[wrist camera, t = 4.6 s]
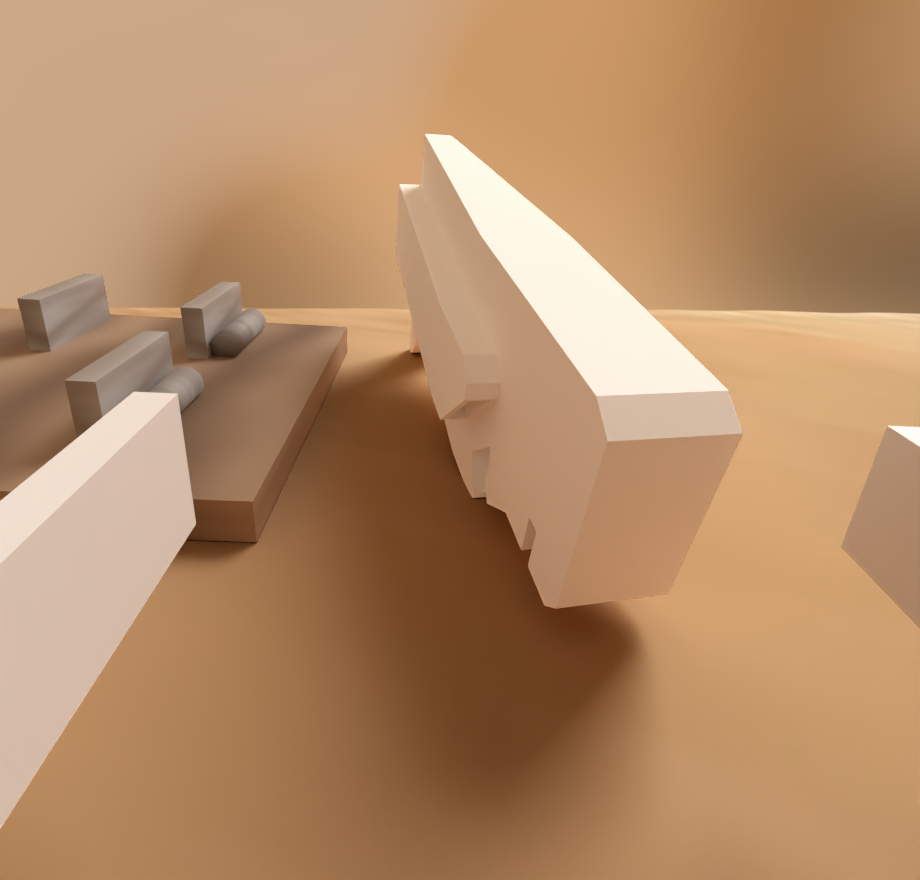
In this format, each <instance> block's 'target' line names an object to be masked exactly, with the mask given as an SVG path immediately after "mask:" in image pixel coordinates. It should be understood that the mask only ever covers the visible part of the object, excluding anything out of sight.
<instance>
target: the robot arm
mask: <svg viewBox="0 0 920 880" xmlns="http://www.w3.org/2000/svg"><path fill="white" fill-rule="evenodd" d="M195 525H196V519H195V512H194V505H193V498H192V491H191V484H190V477H189V470H188V463H187V456H186V449H185V442H184V435H183V428H182V421H181V414H180V407H179V400H178V394H176V393H153V392H133V393H132V394H130V395H129V396H128V397H127V398H125V399H124V400H123V401H122V402H121V403H119V404H118V405H117V406H116V407H114V408H113V409H112V410H111V411H110V412H108V413H107V414H106V415H105V416H103V417H102V418H101V419H100V420H99V421H97V422H96V423H95V424H94V425H92V426H91V427H90V428H89V429H88V430H86V431H85V432H84V433H83V434H81V435H80V436H79V437H78V438H77V439H75V440H74V441H73V442H72V443H70V444H69V445H68V446H67V447H65V448H64V449H63V450H62V451H61V452H59V453H58V454H57V455H56V456H54V457H53V458H52V459H51V460H50V461H48V462H47V463H46V464H45V465H43V466H42V467H41V468H40V469H39V470H37V471H36V472H35V473H34V474H32V475H31V476H30V477H29V478H28V479H26V480H25V481H24V482H23V483H21V484H20V485H19V486H18V487H17V488H15V489H14V490H13V491H12V492H10V493H9V494H8V495H7V496H6V497H4V498H3V499H2V500H1V501H0V829H1V827H2V826H3V824H4V822H5V821H6V819H7V818H8V816H9V815H10V813H11V812H12V810H13V808H14V807H15V805H16V804H17V802H18V801H19V799H20V798H21V796H22V794H23V793H24V791H25V790H26V788H27V787H28V785H29V784H30V782H31V780H32V779H33V777H34V776H35V774H36V773H37V771H38V770H39V768H40V766H41V765H42V763H43V762H44V760H45V759H46V757H47V755H48V754H49V752H50V751H51V749H52V748H53V746H54V745H55V743H56V741H57V740H58V738H59V737H60V735H61V734H62V732H63V731H64V729H65V727H66V726H67V724H68V723H69V721H70V720H71V718H72V717H73V715H74V713H75V712H76V710H77V709H78V707H79V706H80V704H81V703H82V701H83V699H84V698H85V696H86V695H87V693H88V692H89V690H90V689H91V687H92V685H93V684H94V682H95V681H96V679H97V678H98V676H99V674H100V673H101V671H102V670H103V668H104V667H105V665H106V664H107V662H108V660H109V659H110V657H111V656H112V654H113V653H114V651H115V650H116V648H117V646H118V645H119V643H120V642H121V640H122V639H123V637H124V636H125V634H126V632H127V631H128V629H129V628H130V626H131V625H132V623H133V622H134V620H135V618H136V617H137V615H138V614H139V612H140V611H141V609H142V608H143V606H144V604H145V603H146V601H147V600H148V598H149V597H150V595H151V593H152V592H153V590H154V589H155V587H156V586H157V584H158V583H159V581H160V579H161V578H162V576H163V575H164V573H165V572H166V570H167V569H168V567H169V565H170V564H171V562H172V561H173V559H174V558H175V556H176V555H177V553H178V551H179V550H180V548H181V547H182V545H183V544H184V542H185V541H186V539H187V537H188V536H189V534H190V533H191V531H192V530H193V528H194V527H195ZM841 548H842V549H843V550H844V551H845V552H846V553H847V554H848V555H849V556H850V557H851V558H852V559H853V560H854V561H855V562H856V563H857V564H858V565H859V566H860V567H861V568H862V569H863V570H864V571H865V572H866V573H867V574H868V575H869V576H870V577H871V578H872V579H873V581H874V582H875V583H876V584H877V585H878V586H879V587H880V588H881V589H882V590H883V591H884V592H885V593H886V594H887V595H888V596H889V597H890V598H891V599H892V600H893V601H894V602H895V603H896V604H897V605H898V606H899V607H900V608H901V609H902V610H903V611H904V612H905V613H906V614H907V615H908V616H909V618H910V619H911V620H912V621H913V622H914V623H915V624H916V625H917V626H918V627H919V628H920V427H904V426H887V428H886V430H885V433H884V436H883V438H882V441H881V444H880V446H879V449H878V451H877V454H876V457H875V459H874V462H873V465H872V467H871V470H870V472H869V475H868V478H867V480H866V483H865V485H864V488H863V491H862V493H861V496H860V499H859V501H858V504H857V506H856V509H855V512H854V514H853V517H852V520H851V522H850V525H849V527H848V530H847V533H846V535H845V538H844V540H843V543H842V546H841Z"/></svg>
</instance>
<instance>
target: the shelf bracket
mask: <svg viewBox="0 0 920 880" xmlns="http://www.w3.org/2000/svg"><path fill="white" fill-rule="evenodd" d="M396 256H397V260H398V264H399V268H400V272H401V276H402V280H403V284H404V288H405V292H406V296H407V300H408V304H409V308H410V312H411V316H412V321H411V336H410V352H411V353H421V356H422V360H423V364H424V368H425V372H426V376H427V380H428V384H429V388H430V392H431V396H432V399H433V402H434V404H435V407H436V410H437V413H438V416H439V418H440V420H444V421H445V424H446V428H447V432H448V436H449V440H450V444H451V448H452V451H453V454H454V457H455V460H456V462H457V465H458V468H459V471H460V473H461V476H462V479H463V481H464V483H465V485H466V487H467V489H468V491H469V493H470V495H471V497H473V498H478V497H486V500H487V504H489V505H491V506H493V507H495V508H497V509H499V510H501V511H503V512H505V513H506V515H507V517H508V520H509V522H510V524H511V527H512V529H513V532H514V534H515V536H516V539H517V541H518V544H519V546H520V549H521V550H528V549H532V551H531V555H530V559H529V562H528V568H529V570H530V573H531V575H532V577H533V580H534V582H535V585H536V587H537V589H538V592H539V594H540V597H541V599H542V602H543V604H544V606H547V607H551V608H555V609H557V608H565V607H573V606H580V605H588V604H596V603H603V602H611V601H619V600H626V599H634V598H642V597H649V596H657V595H665V594H668V593H669V591H670V589H671V587H672V585H673V582H674V580H675V578H676V576H677V574H678V572H679V570H680V567H681V565H682V563H683V561H684V559H685V557H686V555H687V552H688V550H689V548H690V546H691V544H692V542H693V540H694V538H695V535H696V533H697V531H698V529H699V527H700V525H701V523H702V520H703V518H704V516H705V514H706V512H707V510H708V508H709V506H710V503H711V501H712V499H713V497H714V495H715V493H716V491H717V488H718V486H719V484H720V482H721V480H722V478H723V476H724V473H725V471H726V469H727V467H728V465H729V463H730V461H731V459H732V456H733V454H734V452H735V450H736V448H737V446H738V444H739V441H740V439H741V437H742V435H743V431H742V428H741V425H740V422H739V419H738V416H737V413H736V411H735V408H734V405H733V402H732V399H731V396H730V393H729V390H728V389H727V388H726V387H725V386H724V385H722V384H721V383H720V382H719V381H718V380H717V379H716V378H715V377H714V376H713V375H712V374H711V373H710V372H709V371H708V370H707V369H706V368H705V367H704V366H703V365H702V364H701V363H700V362H699V361H698V360H697V359H696V358H695V357H694V356H693V355H692V354H691V353H690V352H689V351H688V350H687V349H686V348H685V347H684V346H683V345H682V344H681V343H680V342H678V341H677V340H676V339H675V338H674V337H673V336H672V335H671V334H670V333H669V332H668V331H667V330H666V329H665V328H664V327H663V326H662V325H661V324H660V323H659V322H658V321H657V320H656V319H655V318H654V317H653V316H652V315H651V314H650V313H649V312H648V311H647V310H646V309H645V308H644V307H643V306H642V305H640V303H639V302H638V301H637V300H636V299H635V298H633V297H632V296H631V295H630V294H629V293H628V292H627V291H626V290H625V289H624V288H623V287H622V286H621V285H620V284H619V283H618V282H617V281H616V280H615V279H614V278H613V277H612V276H611V275H610V274H609V273H608V272H607V271H606V270H605V269H604V268H603V267H602V266H601V265H600V264H599V263H598V262H597V261H596V260H595V259H594V258H592V257H591V256H590V255H589V254H588V253H587V252H586V251H585V250H584V249H583V248H582V247H581V246H580V245H579V244H578V243H577V242H576V241H575V240H574V239H573V238H572V237H571V236H570V235H569V234H567V233H566V232H565V231H563V229H561V228H560V227H559V226H558V225H557V224H555V223H554V222H553V221H552V220H551V219H550V218H548V217H547V216H546V215H545V214H544V213H543V212H541V211H540V210H539V209H538V208H537V207H535V206H534V205H533V204H532V203H531V202H530V201H528V200H527V199H526V198H525V197H524V196H522V195H521V194H520V193H519V192H518V191H516V190H515V189H514V188H513V187H512V186H510V185H509V184H508V183H507V182H506V181H505V180H503V179H502V178H501V177H500V176H499V175H497V174H496V173H495V172H494V171H493V170H492V169H491V168H489V167H488V166H487V165H486V164H485V163H483V162H482V161H481V160H480V159H479V158H477V157H476V156H475V155H474V154H473V153H471V152H470V151H469V150H468V149H467V148H466V147H464V146H463V145H462V144H461V143H460V142H458V141H457V140H456V139H455V138H454V137H452V136H451V135H436V134H425V137H424V151H423V166H422V180H421V185H410V184H399V199H398V219H397V239H396Z"/></svg>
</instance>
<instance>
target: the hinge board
mask: <svg viewBox="0 0 920 880" xmlns="http://www.w3.org/2000/svg"><path fill="white" fill-rule="evenodd" d="M18 303H19V308H20V310H16V309H0V501H1V500H2V499H3V498H4V497H6V496H7V495H8V494H9V493H10V492H12V491H13V490H14V489H15V488H17V487H18V486H19V485H20V484H21V483H23V482H24V481H25V480H26V479H28V478H29V477H30V476H31V475H32V474H34V473H35V472H36V471H37V470H39V469H40V468H41V467H42V466H43V465H45V464H46V463H47V462H48V461H50V460H51V459H52V458H53V457H54V456H56V455H57V454H58V453H59V452H61V451H62V450H63V449H64V448H65V447H67V446H68V445H69V444H70V443H72V442H73V441H74V440H75V439H77V438H78V437H79V436H80V435H81V434H83V433H84V432H85V431H86V430H88V429H89V428H90V427H91V426H92V425H94V424H95V423H96V422H97V421H99V420H100V419H101V418H102V417H103V416H105V415H106V414H107V413H108V412H110V411H111V410H112V409H113V408H114V407H116V406H117V405H118V404H119V403H121V402H122V401H123V400H124V399H125V398H127V397H128V396H129V395H130V394H132V393H133V392H153V393H176V394H178V400H179V407H180V414H181V421H182V428H183V435H184V442H185V449H186V456H187V463H188V470H189V477H190V484H191V491H192V498H193V505H194V512H195V519H196V525H195V527H194V528H193V530H192V531H191V533H190V534H189V536H188V537H187V539H186V540H210V541H235V542H257V540H258V538H259V536H260V534H261V532H262V530H263V528H264V526H265V523H266V521H267V519H268V517H269V515H270V513H271V511H272V509H273V507H274V504H275V502H276V500H277V498H278V496H279V494H280V492H281V490H282V488H283V486H284V483H285V481H286V479H287V477H288V475H289V473H290V471H291V469H292V467H293V465H294V462H295V460H296V458H297V456H298V454H299V452H300V450H301V448H302V446H303V443H304V441H305V439H306V437H307V435H308V433H309V431H310V429H311V427H312V425H313V422H314V420H315V418H316V416H317V414H318V412H319V410H320V408H321V406H322V404H323V401H324V399H325V397H326V395H327V393H328V391H329V389H330V387H331V385H332V382H333V380H334V378H335V376H336V374H337V372H338V370H339V368H340V366H341V364H342V361H343V359H344V357H345V355H346V353H347V327H335V326H316V325H298V324H279V323H265V318H264V316H263V314H262V313H261V312H260V311H258V310H256V309H246V310H245V311H243V312H242V301H241V291H240V283H238V282H220V283H219V284H217V285H215V286H214V287H212V288H211V289H209V290H208V291H206V292H205V293H203V294H201V295H200V296H198V297H196V298H195V299H193V300H192V301H190V302H188V303H187V304H185V305H184V306H182V307H181V315H182V318H166V317H147V316H129V315H110V313H109V308H108V302H107V297H106V291H105V286H104V280H103V275H93V274H83V275H80V276H77V277H74V278H72V279H69V280H66V281H64V282H61V283H58V284H55V285H53V286H50V287H47V288H45V289H42V290H39V291H37V292H34V293H31V294H28V295H26V296H23V297H21V298H18Z"/></svg>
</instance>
